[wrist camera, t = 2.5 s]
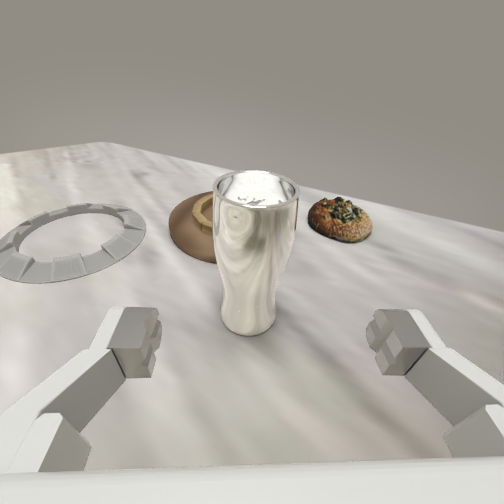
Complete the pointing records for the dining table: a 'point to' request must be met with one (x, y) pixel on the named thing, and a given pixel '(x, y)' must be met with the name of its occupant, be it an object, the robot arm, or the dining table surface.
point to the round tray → (194, 227)
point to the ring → (71, 267)
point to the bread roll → (340, 220)
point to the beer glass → (252, 244)
